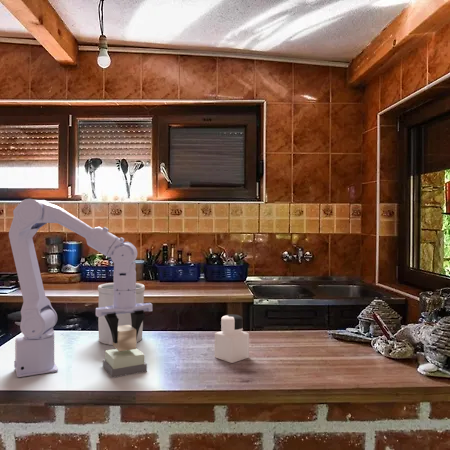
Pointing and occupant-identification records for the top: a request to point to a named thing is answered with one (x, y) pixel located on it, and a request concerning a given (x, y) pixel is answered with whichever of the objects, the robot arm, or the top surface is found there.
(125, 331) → the birch block
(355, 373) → the top surface
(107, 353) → the tower top
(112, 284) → the utensil holder
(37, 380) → the top surface
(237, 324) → the medicine bottle
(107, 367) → the tower base
